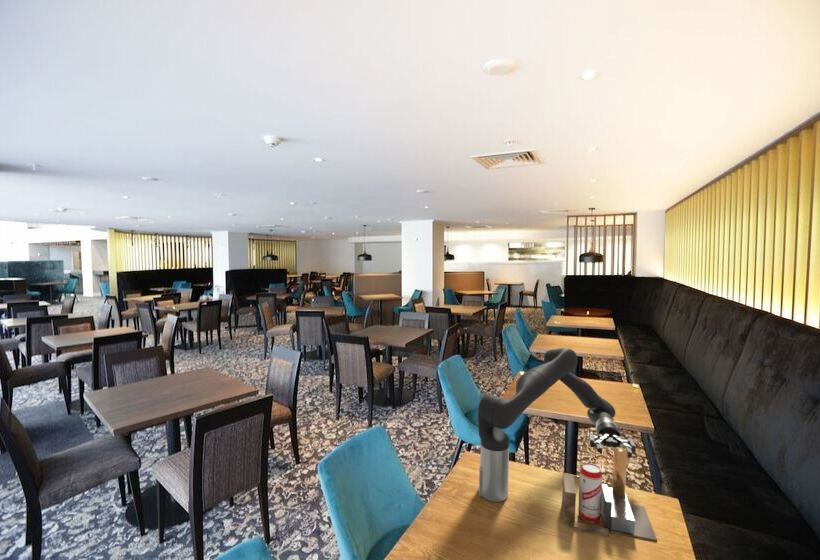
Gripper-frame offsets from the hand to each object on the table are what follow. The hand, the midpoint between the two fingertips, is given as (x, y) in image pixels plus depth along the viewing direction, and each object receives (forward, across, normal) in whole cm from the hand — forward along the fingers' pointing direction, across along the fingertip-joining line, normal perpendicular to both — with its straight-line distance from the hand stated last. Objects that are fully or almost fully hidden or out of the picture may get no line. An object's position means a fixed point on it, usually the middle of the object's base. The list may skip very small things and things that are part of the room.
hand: (615, 453), depth 134 cm
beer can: (+17, -9, +13) cm, 23 cm away
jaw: (+14, -2, +12) cm, 19 cm away
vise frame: (+15, -5, +13) cm, 21 cm away
